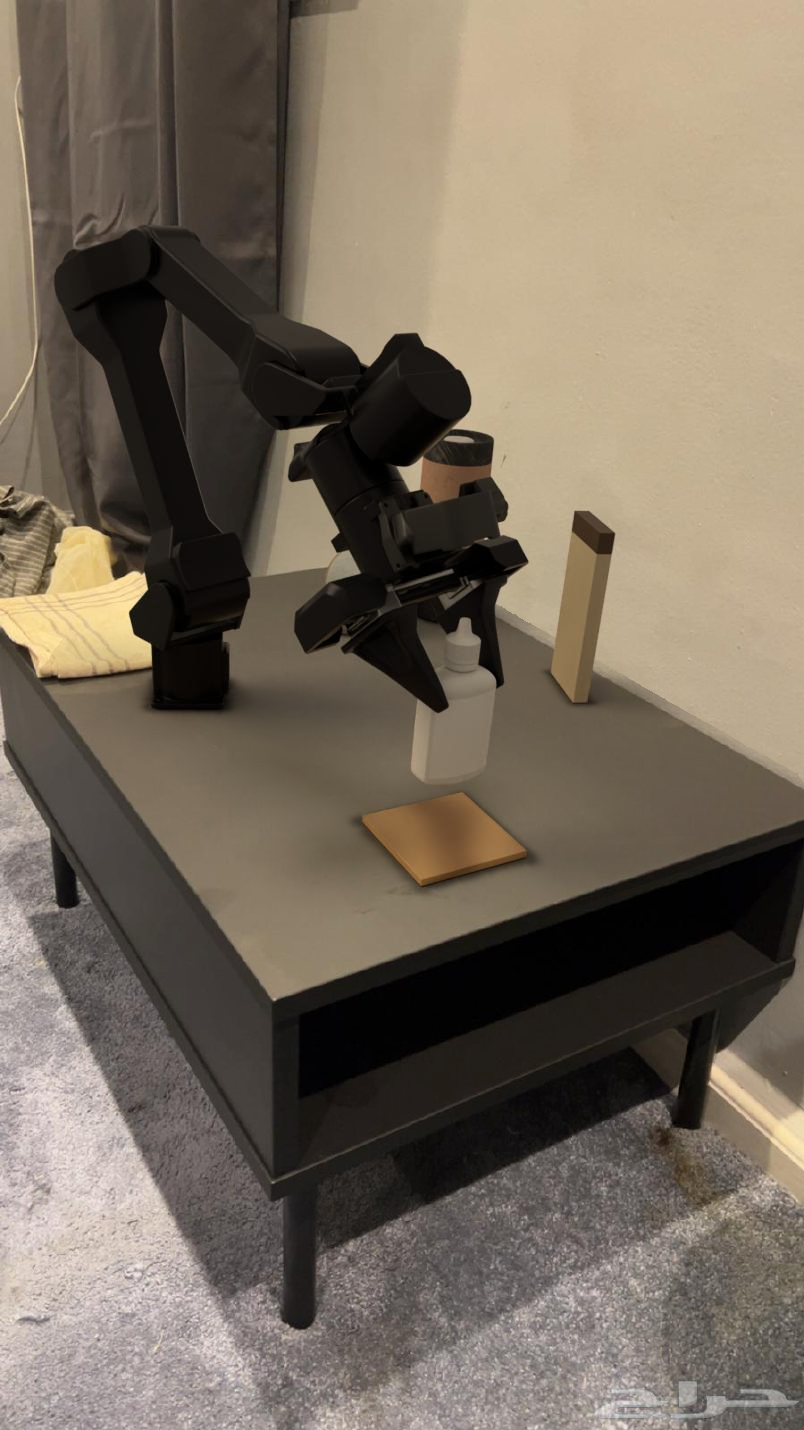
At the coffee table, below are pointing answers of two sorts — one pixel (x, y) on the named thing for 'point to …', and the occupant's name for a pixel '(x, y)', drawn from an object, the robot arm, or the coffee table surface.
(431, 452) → the travel mug
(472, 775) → the eye dropper bottle
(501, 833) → the cork coaster mat
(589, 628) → the tall wooden plank
